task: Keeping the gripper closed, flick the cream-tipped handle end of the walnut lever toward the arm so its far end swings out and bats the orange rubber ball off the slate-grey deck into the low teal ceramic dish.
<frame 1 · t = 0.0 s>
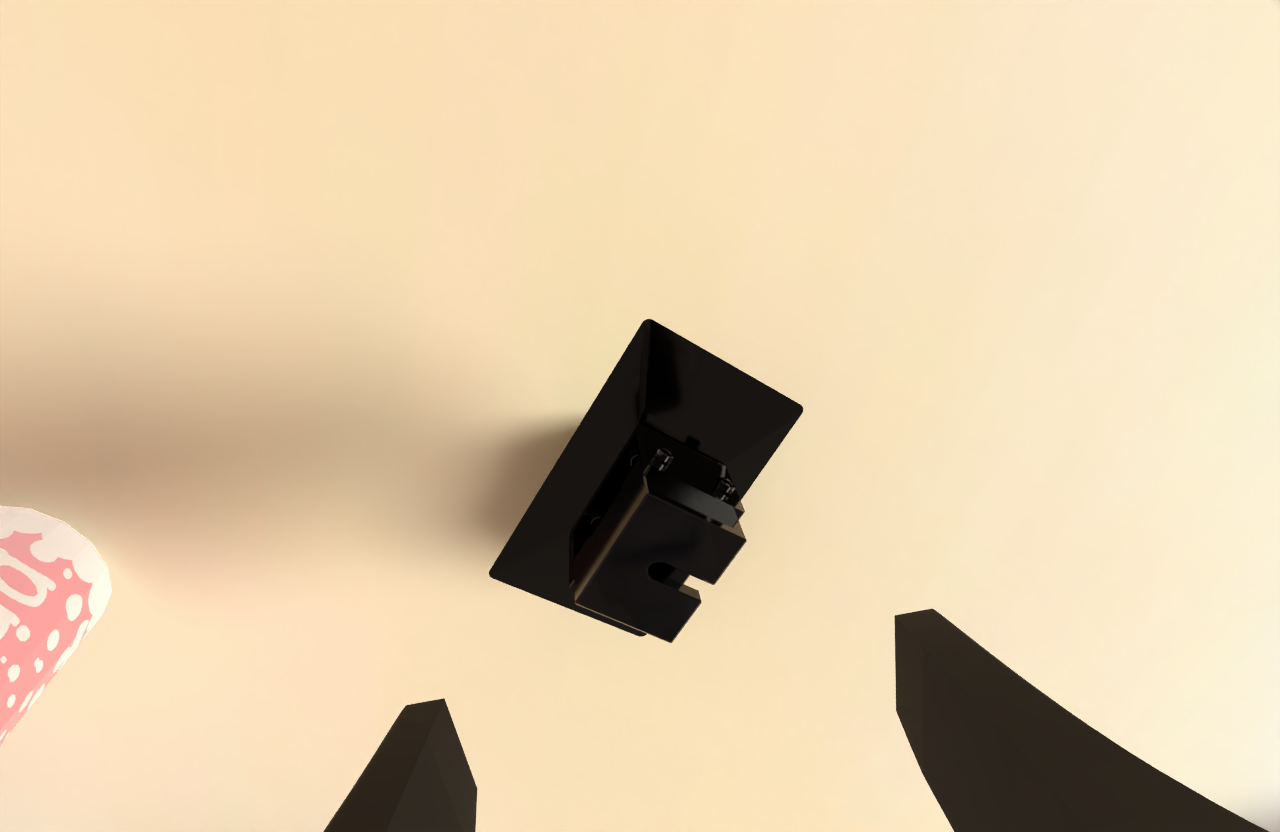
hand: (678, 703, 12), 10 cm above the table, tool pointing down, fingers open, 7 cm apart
black blocky device: (642, 480, 22), on the table
beverage cup: (29, 569, 21), on the table
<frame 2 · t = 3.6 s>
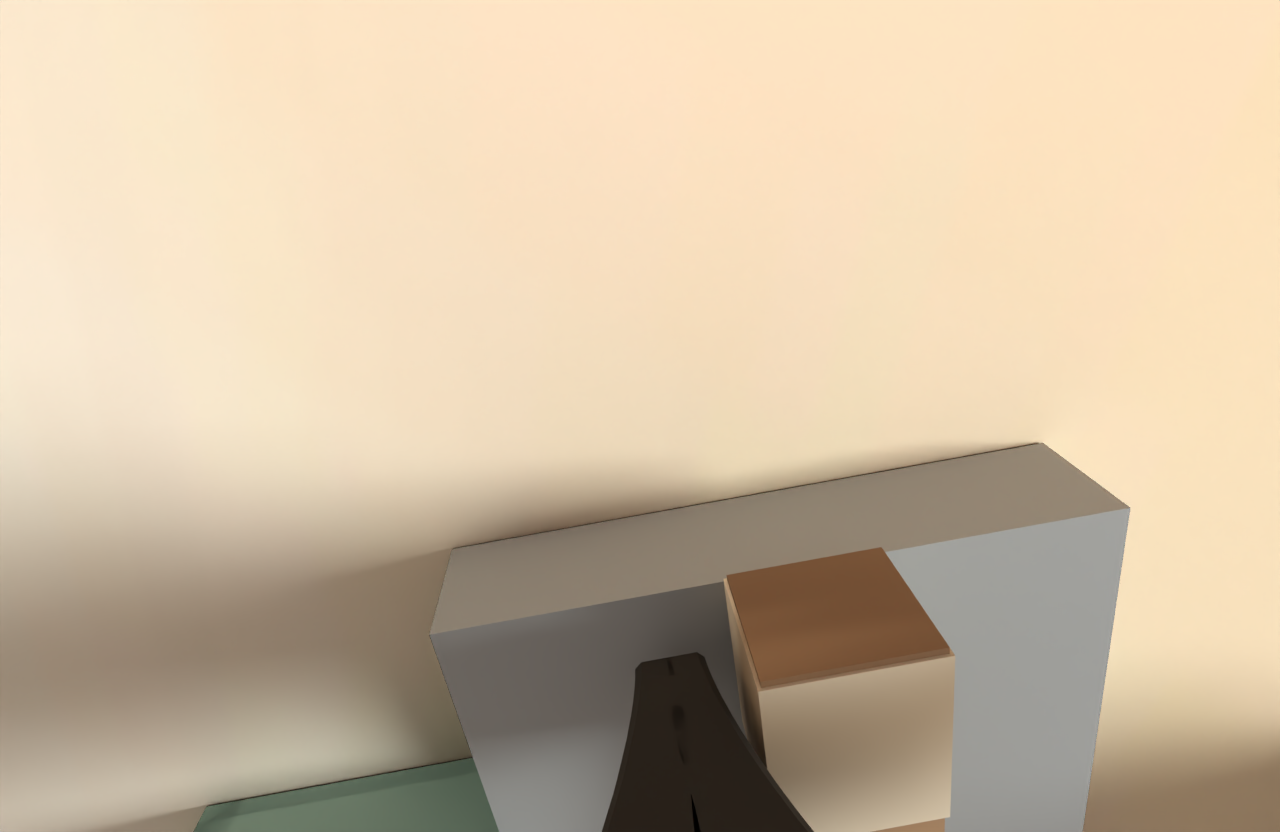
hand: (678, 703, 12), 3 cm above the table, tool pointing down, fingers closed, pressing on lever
deck: (782, 805, 17), on the table
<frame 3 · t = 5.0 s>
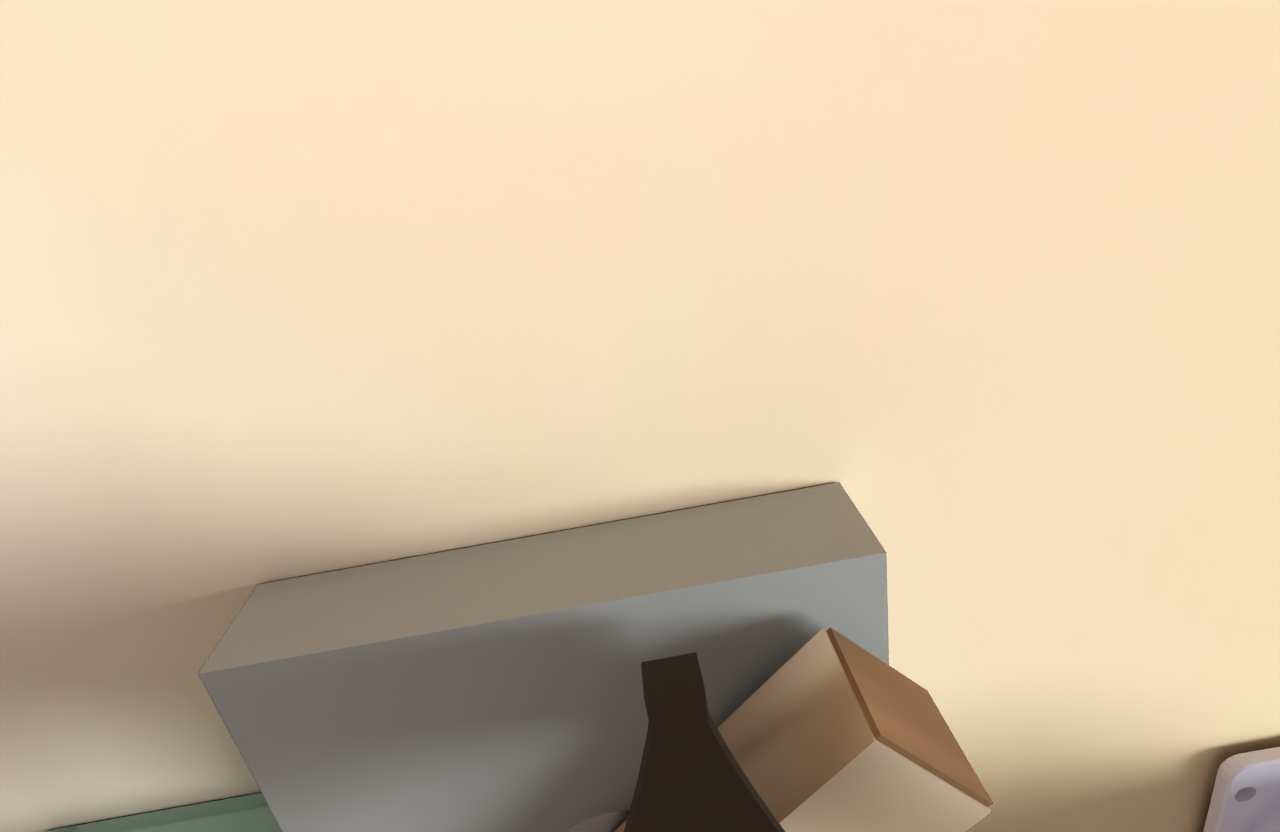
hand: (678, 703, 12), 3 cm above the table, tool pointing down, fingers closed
pivot post: (617, 765, 17), resting on deck
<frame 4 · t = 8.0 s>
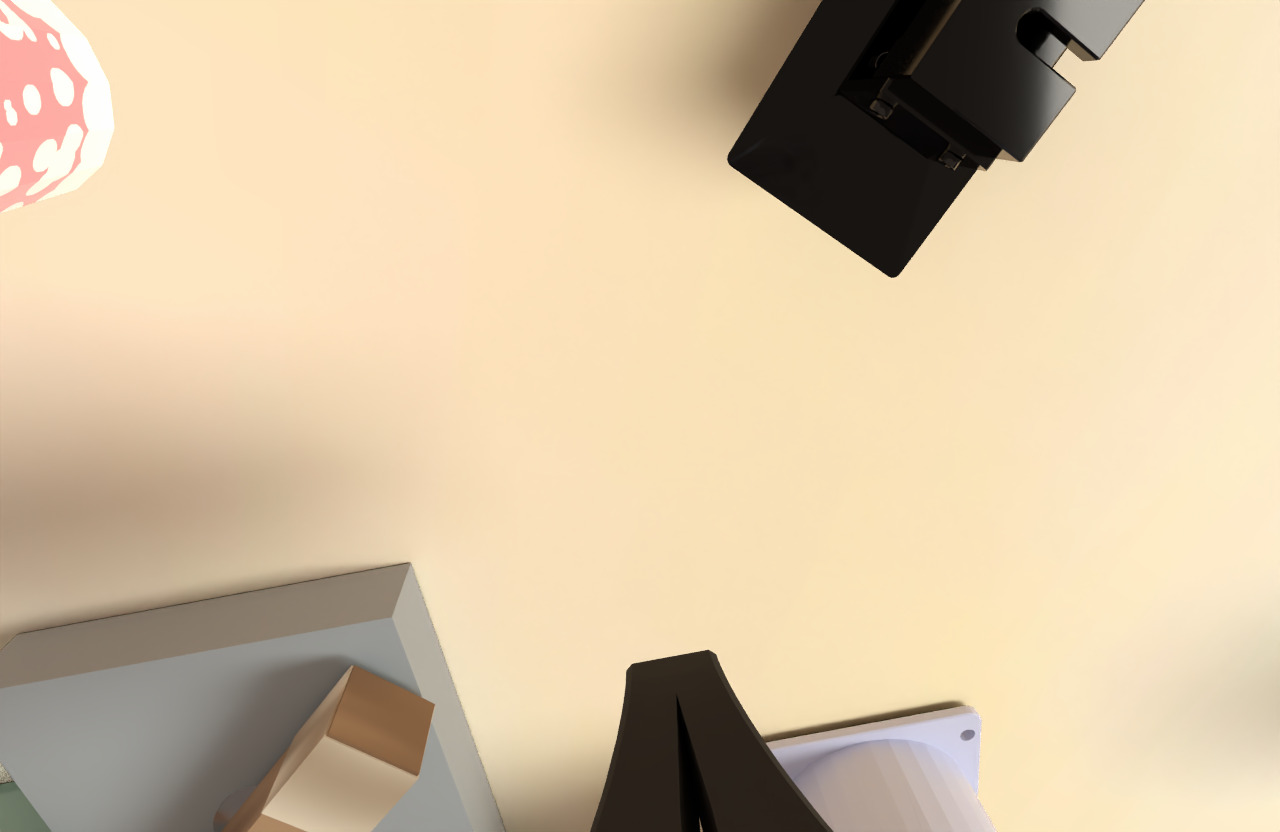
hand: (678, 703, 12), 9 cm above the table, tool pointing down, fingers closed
black blocky device: (919, 45, 17), on the table
pivot post: (301, 755, 24), resting on deck
deck: (317, 803, 25), on the table
beverage cup: (3, 88, 16), on the table
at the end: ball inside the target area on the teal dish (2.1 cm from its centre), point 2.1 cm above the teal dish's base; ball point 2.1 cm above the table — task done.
